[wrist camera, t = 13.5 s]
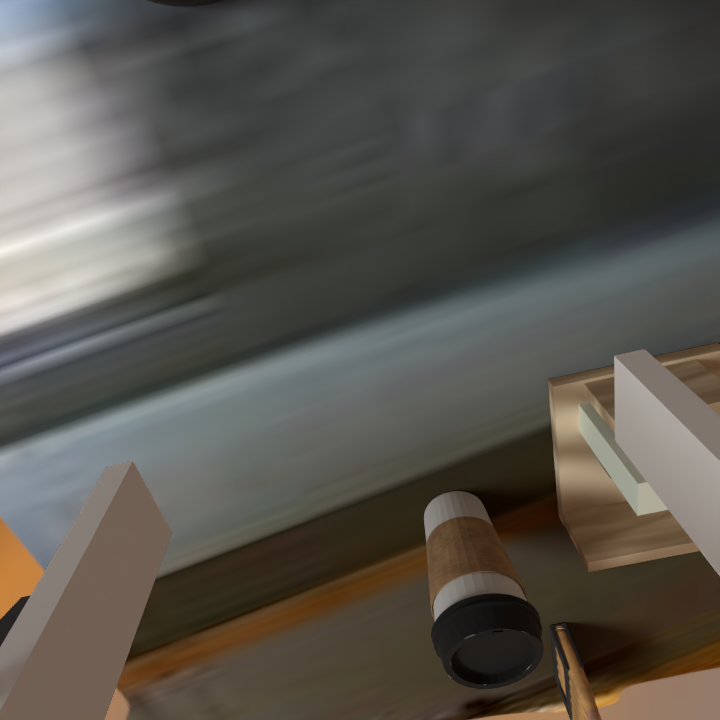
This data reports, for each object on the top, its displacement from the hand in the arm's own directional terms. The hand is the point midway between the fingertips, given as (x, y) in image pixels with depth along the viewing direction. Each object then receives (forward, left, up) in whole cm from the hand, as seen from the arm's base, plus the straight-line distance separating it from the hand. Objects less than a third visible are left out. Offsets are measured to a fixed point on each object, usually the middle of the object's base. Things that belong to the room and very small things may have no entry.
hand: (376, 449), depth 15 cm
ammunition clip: (+55, +12, -27) cm, 62 cm away
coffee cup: (+30, +3, -27) cm, 40 cm away
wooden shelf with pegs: (+25, +20, -27) cm, 42 cm away
